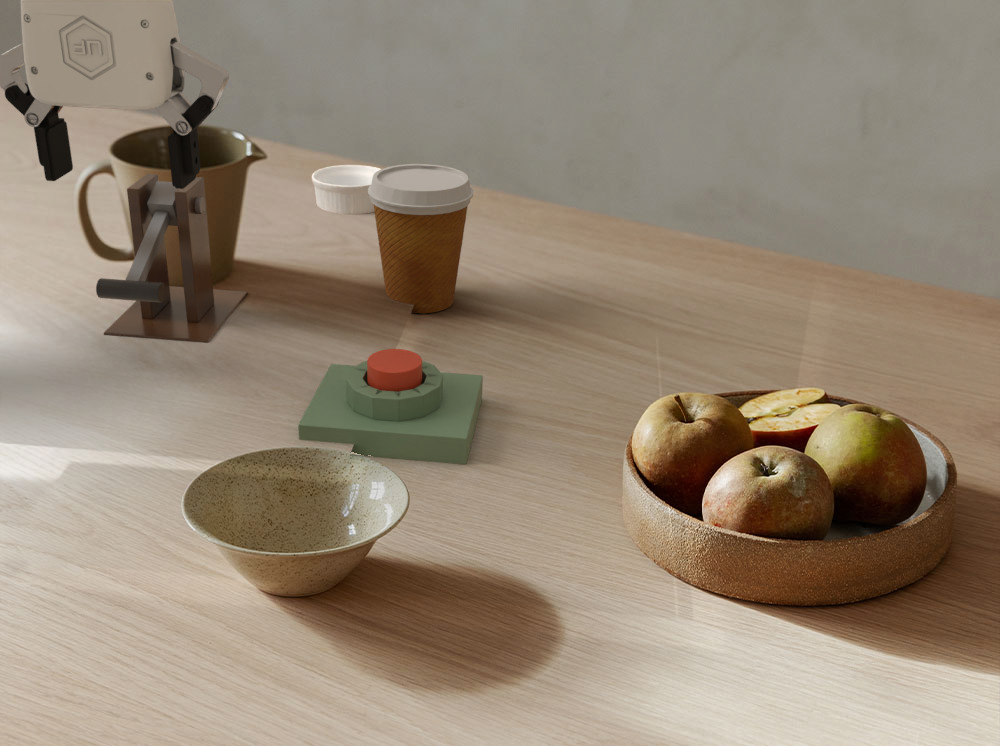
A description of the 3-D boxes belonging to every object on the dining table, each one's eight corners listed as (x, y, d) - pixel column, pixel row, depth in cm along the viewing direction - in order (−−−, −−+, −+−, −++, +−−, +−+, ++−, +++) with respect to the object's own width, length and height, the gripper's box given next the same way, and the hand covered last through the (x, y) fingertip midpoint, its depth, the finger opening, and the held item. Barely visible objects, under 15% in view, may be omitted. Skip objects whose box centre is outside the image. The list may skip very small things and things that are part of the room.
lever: (162, 310, 87) (155, 289, 85) (101, 305, 87) (92, 284, 85) (204, 204, 94) (198, 183, 92) (147, 201, 95) (140, 179, 93)
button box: (299, 451, 79) (296, 401, 77) (331, 388, 88) (330, 342, 86) (466, 465, 78) (467, 415, 76) (482, 399, 87) (483, 354, 85)
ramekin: (299, 217, 125) (297, 180, 123) (333, 195, 132) (332, 160, 130) (372, 227, 122) (371, 189, 121) (402, 205, 130) (402, 169, 128)
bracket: (209, 353, 92) (196, 206, 87) (104, 345, 93) (85, 198, 87) (248, 303, 102) (239, 168, 96) (153, 296, 103) (139, 161, 97)
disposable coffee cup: (490, 299, 105) (494, 176, 100) (427, 329, 98) (428, 199, 93) (414, 274, 110) (414, 156, 105) (348, 302, 103) (345, 177, 98)
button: (362, 391, 79) (361, 370, 79) (373, 367, 83) (373, 346, 82) (417, 396, 79) (417, 374, 78) (426, 371, 83) (426, 350, 82)
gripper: (-61, -66, 72) (-15, 187, 80) (196, -55, 71) (218, 201, 79) (-4, -75, 79) (34, 160, 87) (233, -65, 78) (250, 172, 85)
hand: (122, 179), depth 83 cm, fingers open, 9 cm apart
